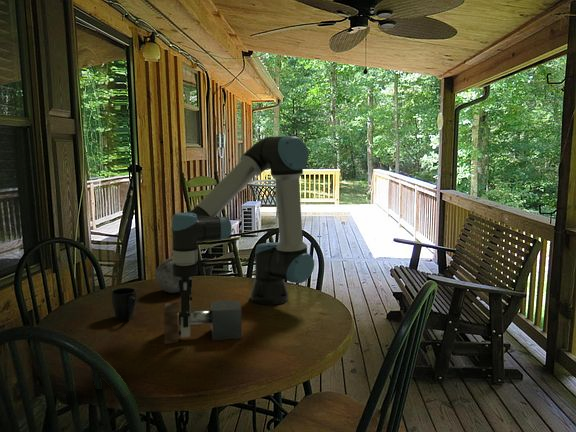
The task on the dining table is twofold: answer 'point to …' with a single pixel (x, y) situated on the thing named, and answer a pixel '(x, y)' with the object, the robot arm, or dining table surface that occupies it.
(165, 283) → the decorative orb
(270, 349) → the dining table surface
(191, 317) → the tube
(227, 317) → the sleeve
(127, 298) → the mug
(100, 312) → the dining table surface
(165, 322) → the socket
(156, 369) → the dining table surface
